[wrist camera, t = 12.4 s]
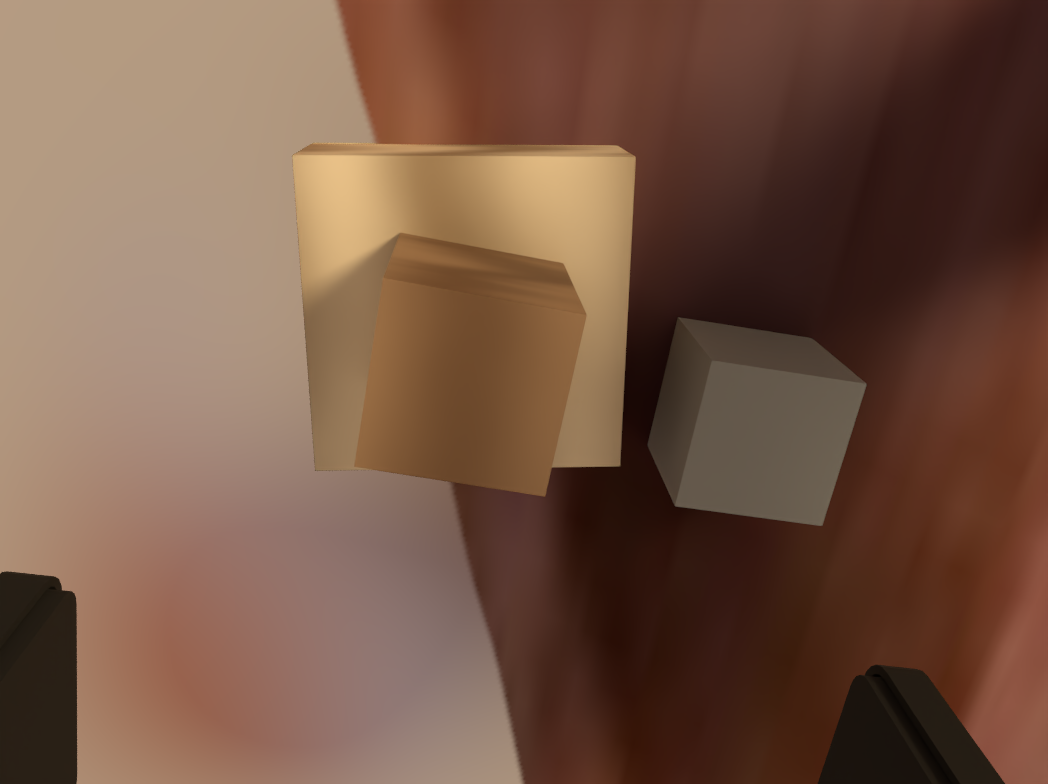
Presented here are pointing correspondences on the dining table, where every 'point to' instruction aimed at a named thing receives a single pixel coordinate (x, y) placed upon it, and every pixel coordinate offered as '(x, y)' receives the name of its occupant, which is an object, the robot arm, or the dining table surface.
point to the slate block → (752, 422)
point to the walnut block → (470, 366)
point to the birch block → (471, 219)
